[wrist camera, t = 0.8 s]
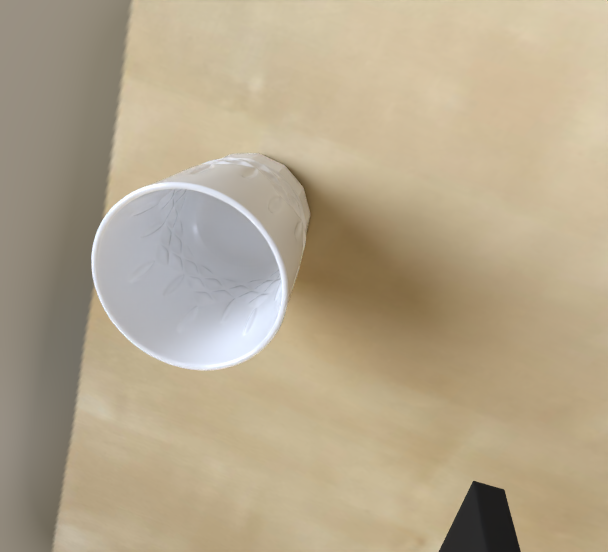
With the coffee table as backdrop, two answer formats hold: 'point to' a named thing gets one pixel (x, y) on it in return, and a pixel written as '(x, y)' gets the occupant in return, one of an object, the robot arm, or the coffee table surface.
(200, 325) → the white cup
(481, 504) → the robot arm
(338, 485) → the coffee table surface
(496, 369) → the coffee table surface
